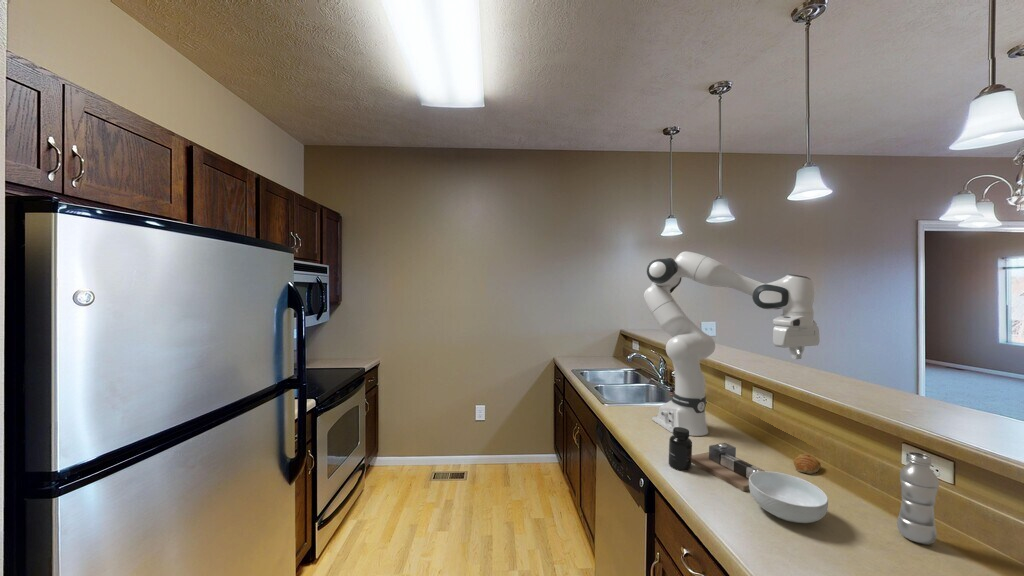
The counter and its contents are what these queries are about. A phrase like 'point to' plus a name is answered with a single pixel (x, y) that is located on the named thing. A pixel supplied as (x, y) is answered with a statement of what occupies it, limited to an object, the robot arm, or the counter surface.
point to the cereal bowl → (788, 496)
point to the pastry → (807, 463)
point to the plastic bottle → (918, 499)
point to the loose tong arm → (743, 462)
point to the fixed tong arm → (737, 466)
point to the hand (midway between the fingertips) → (796, 358)
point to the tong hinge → (721, 452)
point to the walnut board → (721, 471)
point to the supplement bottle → (680, 449)
